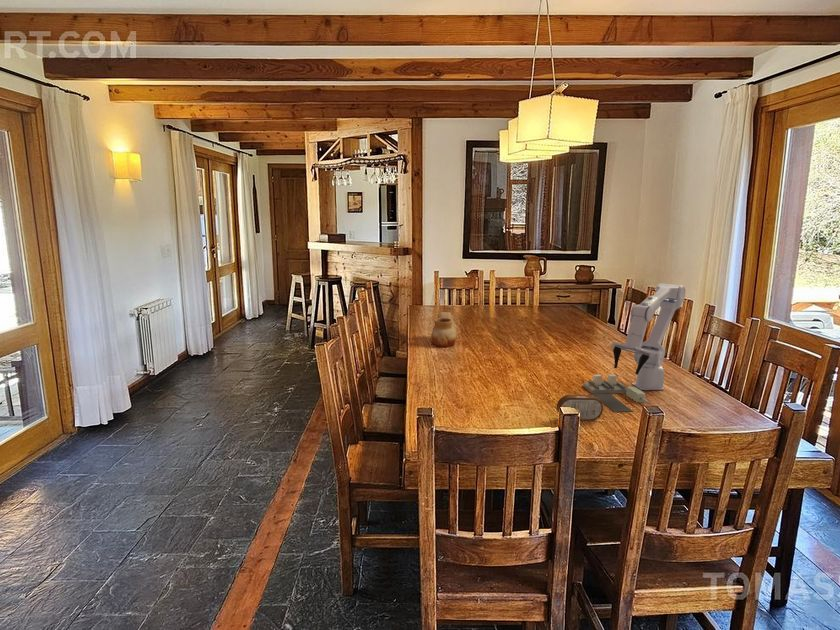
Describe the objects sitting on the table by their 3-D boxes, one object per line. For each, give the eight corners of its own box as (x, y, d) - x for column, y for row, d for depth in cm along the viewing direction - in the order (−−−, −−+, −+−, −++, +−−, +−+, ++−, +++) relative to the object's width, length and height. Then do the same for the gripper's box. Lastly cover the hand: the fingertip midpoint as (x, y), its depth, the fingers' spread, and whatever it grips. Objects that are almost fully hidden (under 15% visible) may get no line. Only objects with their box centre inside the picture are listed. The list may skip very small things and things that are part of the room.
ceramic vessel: (457, 337, 287) (458, 310, 285) (456, 348, 262) (457, 319, 259) (433, 336, 289) (433, 309, 286) (429, 347, 263) (430, 318, 260)
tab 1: (599, 383, 205) (600, 374, 204) (601, 385, 203) (602, 376, 202) (591, 383, 205) (592, 374, 204) (594, 385, 202) (595, 376, 202)
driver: (633, 395, 197) (634, 386, 196) (652, 407, 184) (653, 398, 183) (625, 395, 196) (626, 386, 196) (644, 407, 184) (645, 398, 183)
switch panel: (619, 385, 207) (619, 379, 207) (629, 393, 199) (630, 387, 198) (583, 386, 206) (583, 380, 206) (592, 393, 197) (592, 387, 197)
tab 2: (613, 383, 206) (614, 374, 205) (616, 384, 203) (617, 376, 202) (606, 383, 205) (607, 374, 205) (609, 385, 203) (610, 376, 202)
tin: (599, 418, 173) (601, 394, 172) (603, 421, 170) (605, 397, 169) (555, 417, 173) (557, 393, 171) (558, 421, 170) (560, 397, 168)
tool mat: (610, 394, 197) (610, 393, 197) (633, 411, 179) (633, 411, 179) (592, 394, 196) (592, 394, 196) (613, 412, 179) (613, 411, 179)
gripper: (617, 329, 191) (607, 364, 190) (658, 340, 187) (648, 376, 186) (614, 331, 198) (605, 365, 197) (654, 342, 194) (644, 377, 193)
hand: (625, 371), depth 192 cm, fingers open, 7 cm apart
